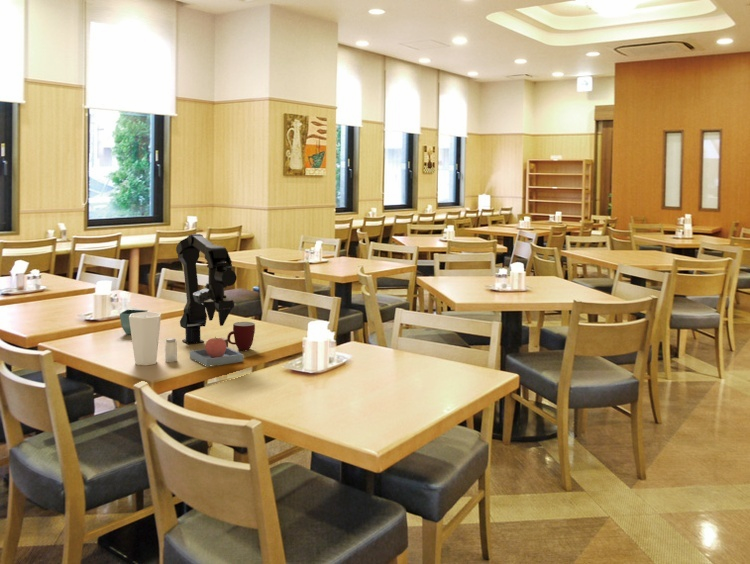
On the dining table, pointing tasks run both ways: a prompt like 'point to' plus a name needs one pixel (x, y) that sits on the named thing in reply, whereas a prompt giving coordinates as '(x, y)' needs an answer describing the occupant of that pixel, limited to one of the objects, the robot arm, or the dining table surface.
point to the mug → (242, 335)
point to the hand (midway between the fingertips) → (216, 323)
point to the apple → (215, 347)
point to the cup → (145, 336)
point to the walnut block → (225, 341)
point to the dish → (227, 358)
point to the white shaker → (170, 350)
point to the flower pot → (125, 319)
